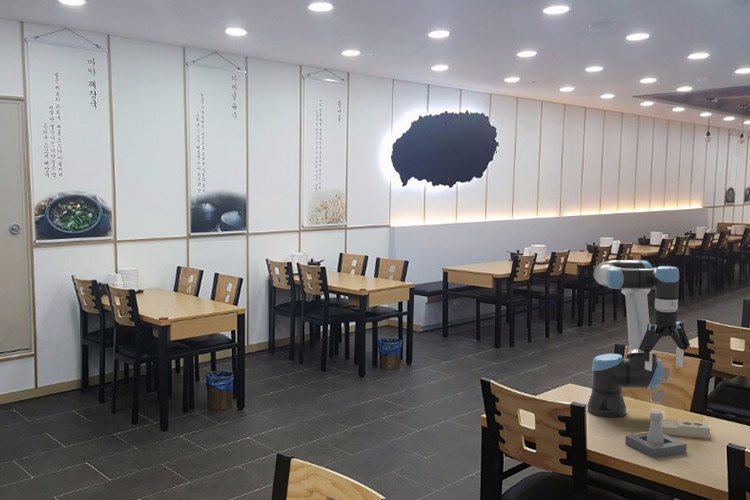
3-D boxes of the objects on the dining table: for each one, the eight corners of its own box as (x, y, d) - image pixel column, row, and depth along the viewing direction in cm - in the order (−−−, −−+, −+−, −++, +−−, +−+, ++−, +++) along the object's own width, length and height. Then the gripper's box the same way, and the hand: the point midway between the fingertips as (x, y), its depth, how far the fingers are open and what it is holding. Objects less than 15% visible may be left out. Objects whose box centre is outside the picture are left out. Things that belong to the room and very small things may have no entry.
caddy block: (625, 443, 238) (625, 434, 238) (656, 438, 242) (657, 430, 242) (653, 457, 225) (653, 448, 224) (686, 452, 229) (686, 443, 229)
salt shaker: (643, 445, 236) (644, 409, 235) (658, 444, 237) (659, 409, 236) (651, 451, 230) (652, 414, 229) (667, 450, 231) (668, 414, 230)
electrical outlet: (654, 417, 254) (706, 422, 249) (654, 428, 255) (706, 432, 249) (657, 423, 247) (710, 428, 242) (656, 434, 248) (710, 439, 243)
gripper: (644, 314, 229) (642, 374, 232) (702, 309, 237) (699, 367, 239) (629, 310, 237) (627, 368, 239) (686, 305, 244) (684, 362, 246)
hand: (663, 368), depth 239 cm, fingers open, 13 cm apart
